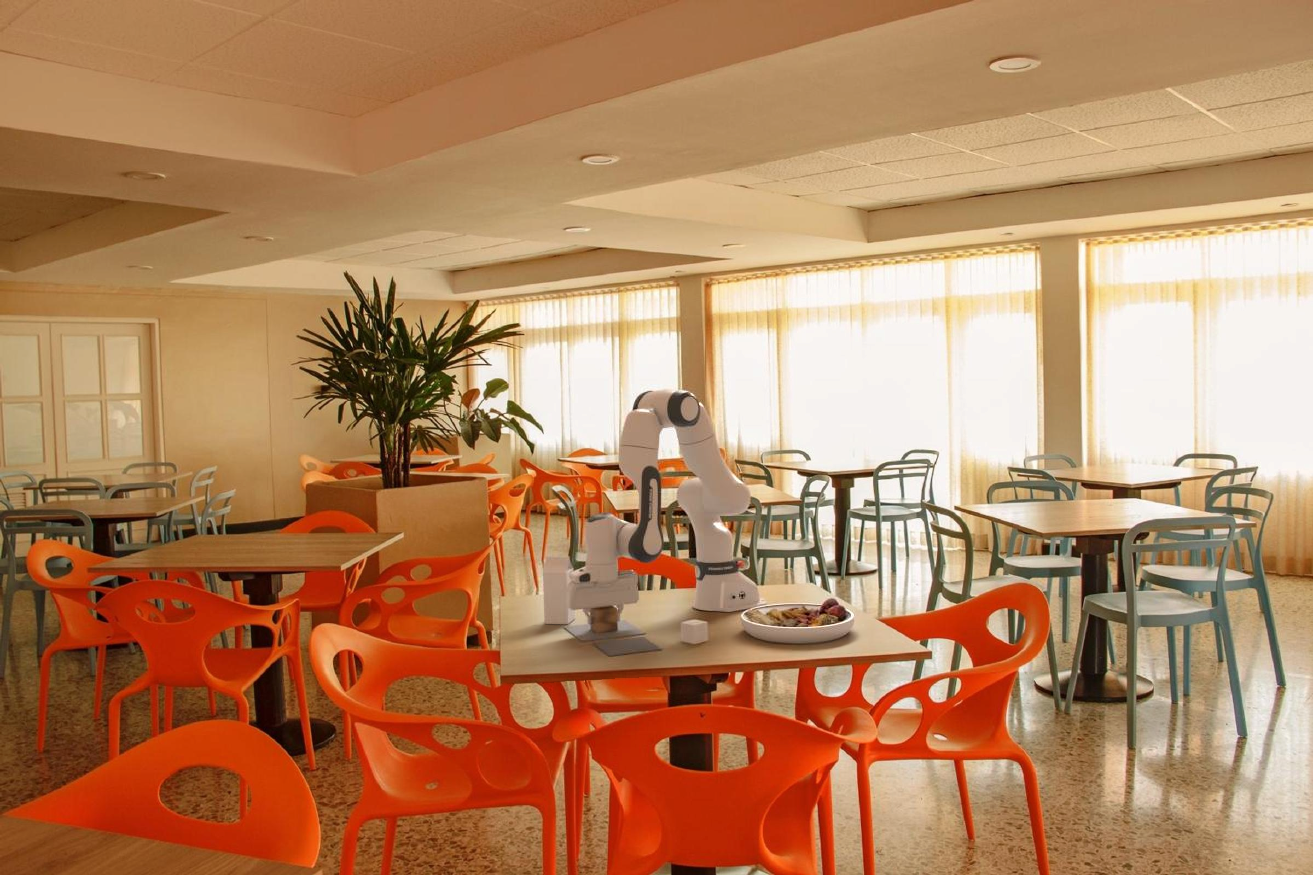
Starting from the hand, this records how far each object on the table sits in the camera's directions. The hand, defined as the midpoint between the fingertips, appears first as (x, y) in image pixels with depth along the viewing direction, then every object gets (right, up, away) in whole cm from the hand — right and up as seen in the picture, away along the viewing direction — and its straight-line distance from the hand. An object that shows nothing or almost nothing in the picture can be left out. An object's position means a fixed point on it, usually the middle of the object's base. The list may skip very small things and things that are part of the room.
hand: (603, 622), depth 276 cm
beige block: (+25, -2, -14) cm, 28 cm away
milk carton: (-13, -3, +13) cm, 19 cm away
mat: (+7, -3, -19) cm, 20 cm away
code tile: (0, -2, 0) cm, 2 cm away
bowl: (+52, -2, -8) cm, 53 cm away
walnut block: (0, -2, 0) cm, 2 cm away
